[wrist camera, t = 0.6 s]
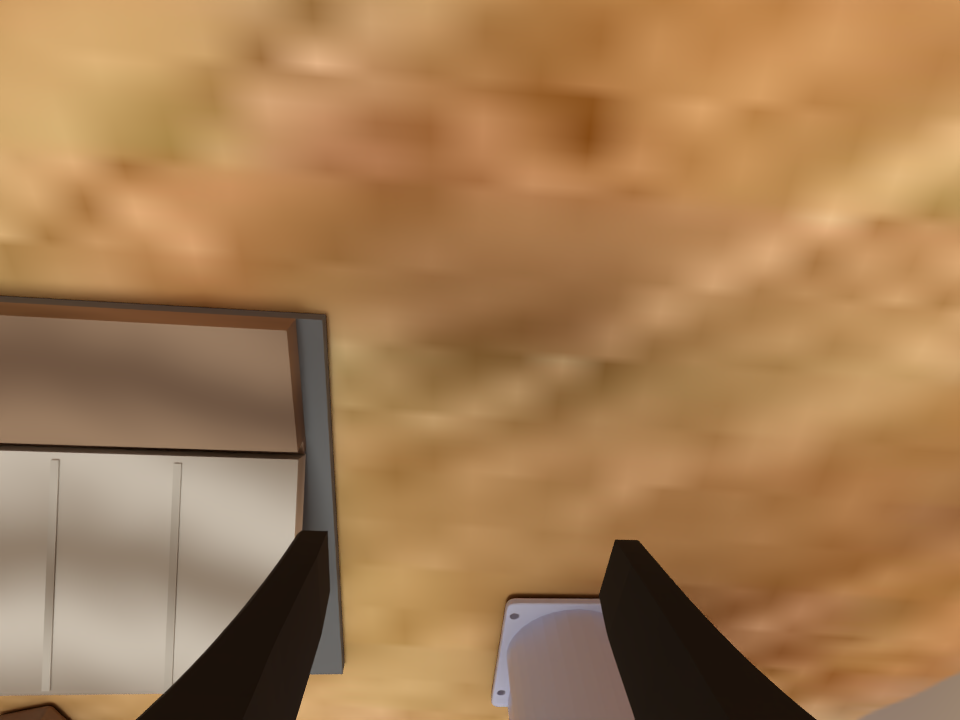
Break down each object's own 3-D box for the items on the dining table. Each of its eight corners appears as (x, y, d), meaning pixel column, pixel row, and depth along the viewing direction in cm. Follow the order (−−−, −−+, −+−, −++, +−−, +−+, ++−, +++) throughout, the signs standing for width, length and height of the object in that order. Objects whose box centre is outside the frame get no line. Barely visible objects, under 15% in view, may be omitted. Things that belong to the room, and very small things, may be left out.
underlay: (344, 663, 29) (342, 673, 29) (53, 665, 28) (45, 676, 27) (325, 314, 20) (322, 320, 19) (-121, 288, 18) (-139, 294, 18)
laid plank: (306, 448, 22) (298, 466, 21) (-44, 437, 20) (-71, 455, 19) (295, 318, 19) (286, 330, 18) (-108, 295, 18) (-144, 307, 17)
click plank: (295, 673, 22) (287, 693, 20) (-53, 676, 20) (-86, 697, 19) (305, 453, 22) (297, 459, 20) (-45, 442, 20) (-77, 448, 19)
